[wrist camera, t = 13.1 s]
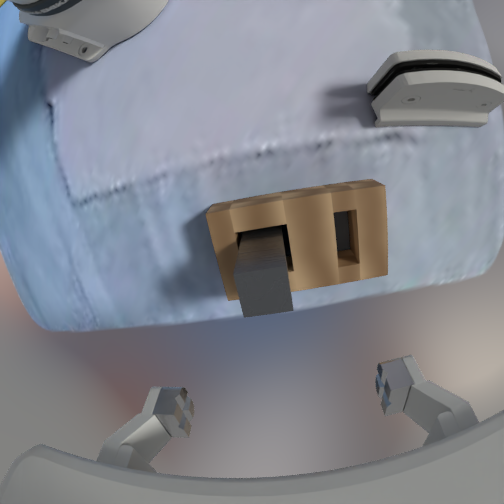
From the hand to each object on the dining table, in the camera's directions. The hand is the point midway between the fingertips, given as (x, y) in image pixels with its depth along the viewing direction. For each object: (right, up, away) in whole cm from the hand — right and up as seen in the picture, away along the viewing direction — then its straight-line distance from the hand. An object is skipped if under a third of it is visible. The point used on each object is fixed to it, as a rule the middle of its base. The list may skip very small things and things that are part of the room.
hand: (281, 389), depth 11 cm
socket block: (+4, +8, +22) cm, 24 cm away
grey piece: (+19, +24, +15) cm, 34 cm away
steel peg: (0, +7, +22) cm, 24 cm away
